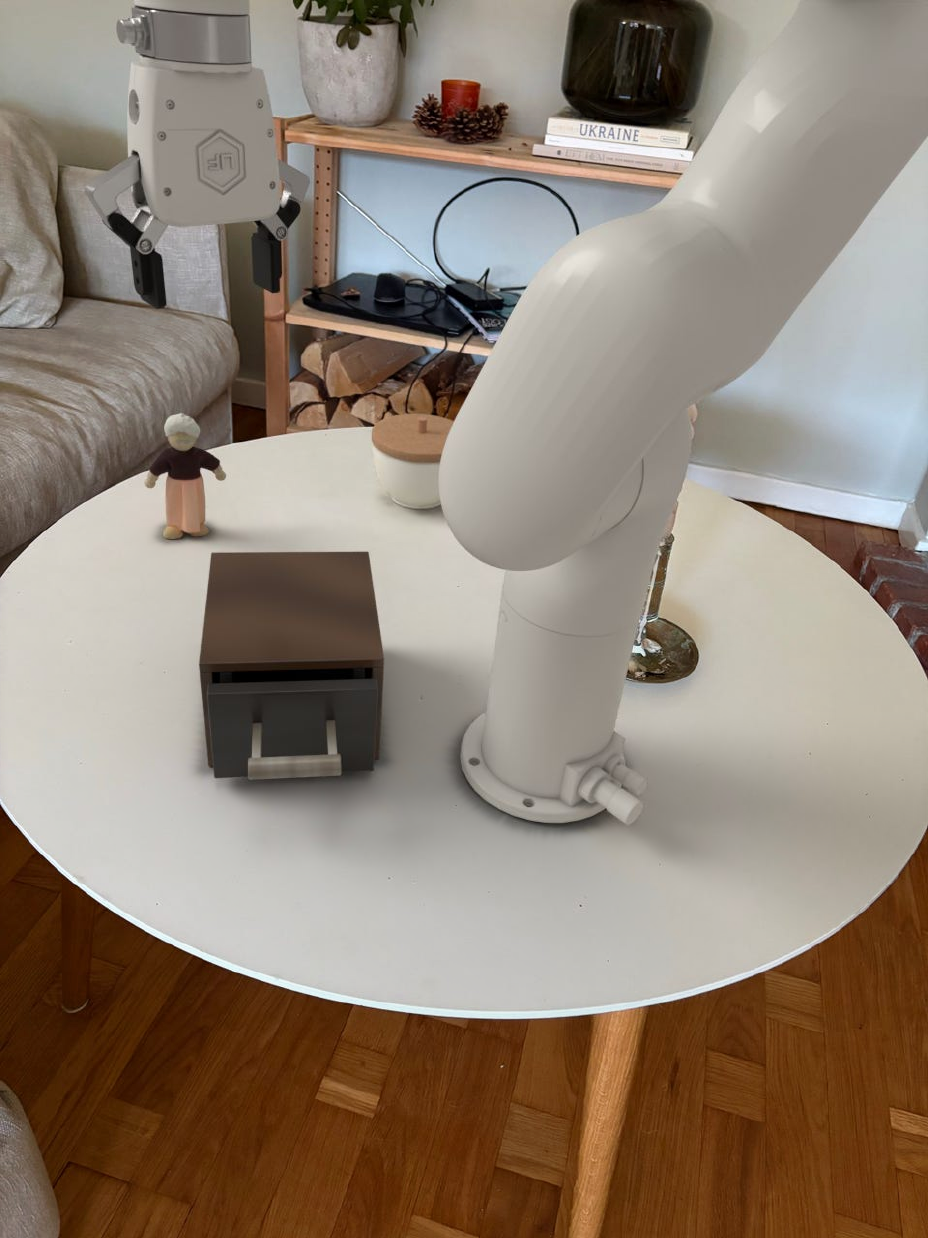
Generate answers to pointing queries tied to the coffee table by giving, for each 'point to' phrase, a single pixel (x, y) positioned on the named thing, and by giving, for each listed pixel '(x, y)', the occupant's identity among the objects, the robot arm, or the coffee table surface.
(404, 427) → the trinket box
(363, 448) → the coffee table surface
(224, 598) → the cabinet
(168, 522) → the grandmother figurine
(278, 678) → the pull-out drawer
